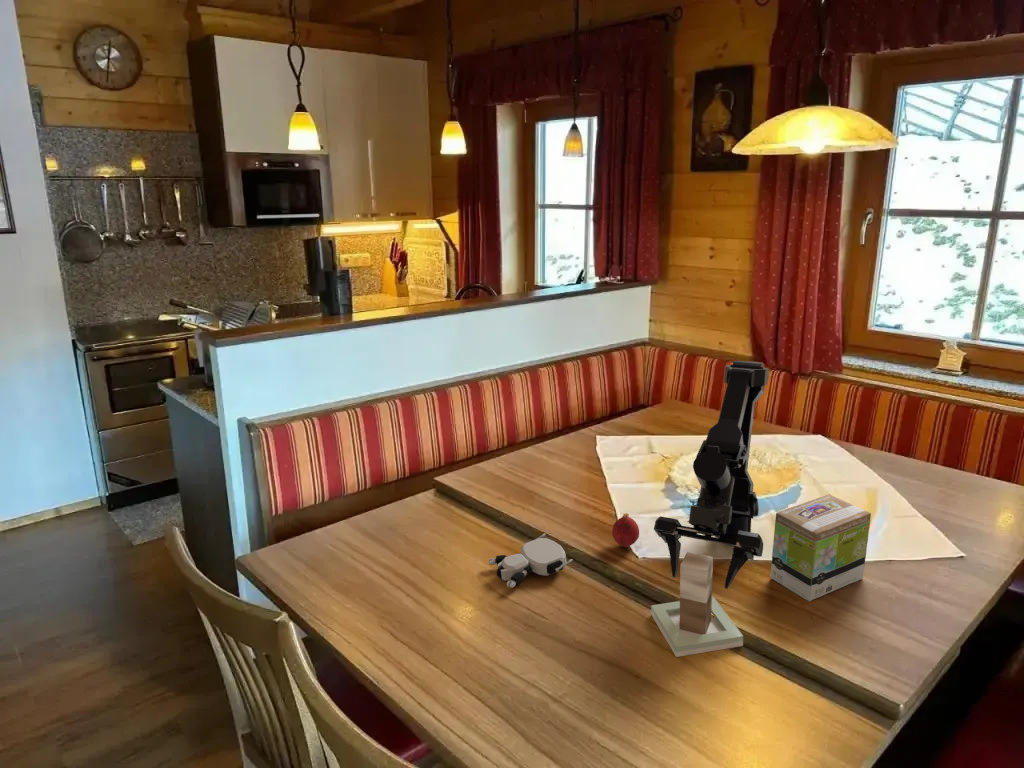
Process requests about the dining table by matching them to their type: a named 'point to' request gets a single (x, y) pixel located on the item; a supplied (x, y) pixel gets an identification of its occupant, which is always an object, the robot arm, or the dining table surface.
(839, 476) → the dining table surface
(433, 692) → the dining table surface
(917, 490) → the dining table surface
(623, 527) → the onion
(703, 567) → the block stack
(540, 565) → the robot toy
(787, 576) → the tea box
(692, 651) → the picture frame
